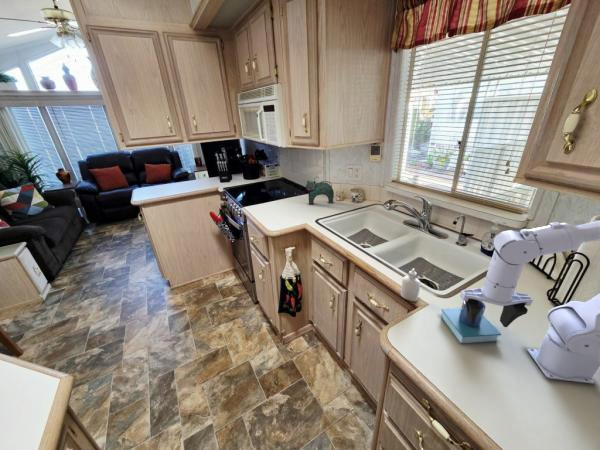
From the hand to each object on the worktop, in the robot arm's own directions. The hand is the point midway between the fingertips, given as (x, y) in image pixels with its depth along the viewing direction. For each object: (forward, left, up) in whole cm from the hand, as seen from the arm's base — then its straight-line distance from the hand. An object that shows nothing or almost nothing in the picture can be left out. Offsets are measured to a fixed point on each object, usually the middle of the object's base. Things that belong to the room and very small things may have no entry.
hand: (486, 322), depth 64 cm
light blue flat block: (0, -7, -9) cm, 12 cm away
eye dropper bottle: (+14, -19, -10) cm, 25 cm away
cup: (0, -7, -6) cm, 9 cm away
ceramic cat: (+56, -117, -10) cm, 130 cm away
